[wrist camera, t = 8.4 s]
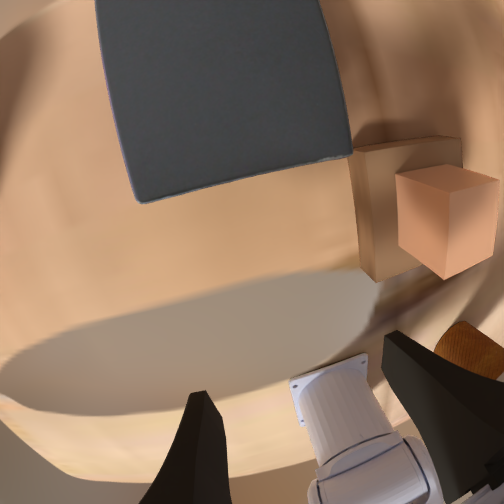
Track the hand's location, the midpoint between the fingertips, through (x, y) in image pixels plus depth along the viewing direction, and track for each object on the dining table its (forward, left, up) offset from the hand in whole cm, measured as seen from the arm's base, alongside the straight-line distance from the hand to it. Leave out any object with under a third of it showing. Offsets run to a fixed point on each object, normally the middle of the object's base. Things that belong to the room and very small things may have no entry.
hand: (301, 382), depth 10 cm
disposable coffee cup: (-18, -21, -11) cm, 30 cm away
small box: (+13, 0, -11) cm, 17 cm away
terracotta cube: (+2, -12, -8) cm, 15 cm away
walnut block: (+2, -12, -11) cm, 16 cm away
